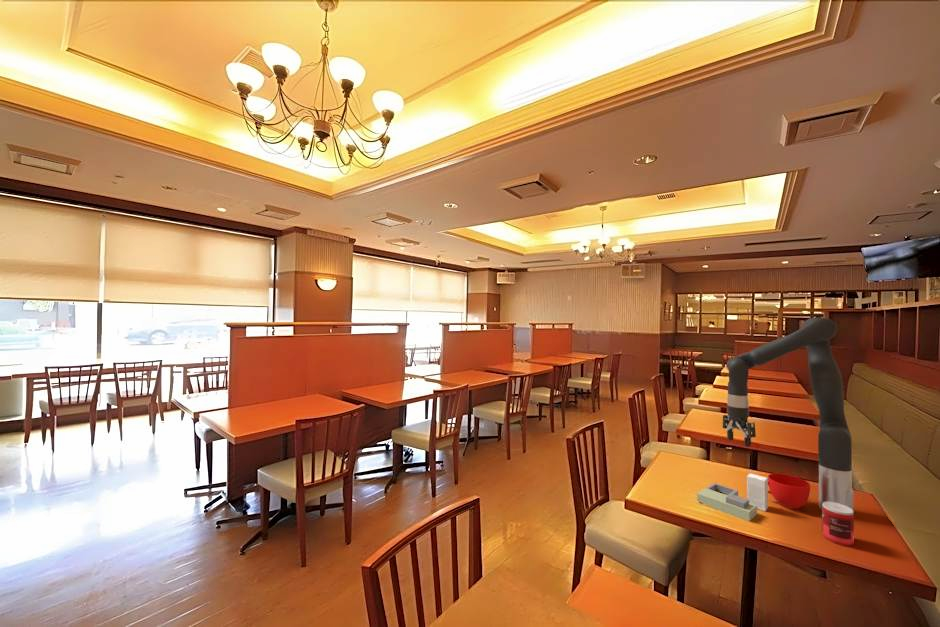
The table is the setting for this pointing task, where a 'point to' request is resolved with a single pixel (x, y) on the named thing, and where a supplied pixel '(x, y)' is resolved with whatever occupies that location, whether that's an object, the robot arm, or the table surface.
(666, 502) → the table surface
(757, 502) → the skincare box
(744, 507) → the green base with arch
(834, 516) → the canned food
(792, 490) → the ceramic cup
